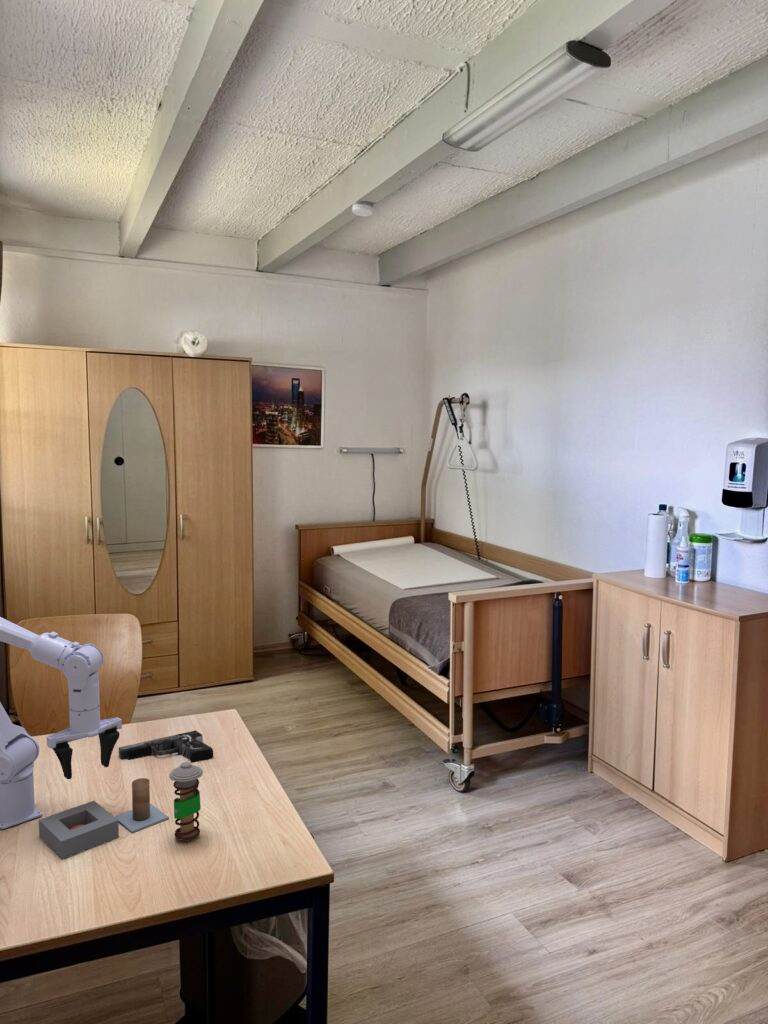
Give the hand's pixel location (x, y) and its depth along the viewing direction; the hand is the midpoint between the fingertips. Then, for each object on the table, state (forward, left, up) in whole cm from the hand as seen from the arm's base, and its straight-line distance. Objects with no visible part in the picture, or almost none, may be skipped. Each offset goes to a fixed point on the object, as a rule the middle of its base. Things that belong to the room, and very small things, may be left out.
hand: (86, 771), depth 149 cm
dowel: (+7, +8, -10) cm, 15 cm away
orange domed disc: (+5, -4, -10) cm, 12 cm away
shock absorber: (+20, +11, -11) cm, 25 cm away
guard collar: (+5, -4, -10) cm, 12 cm away
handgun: (-17, +27, -11) cm, 33 cm away
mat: (+7, +8, -10) cm, 15 cm away
